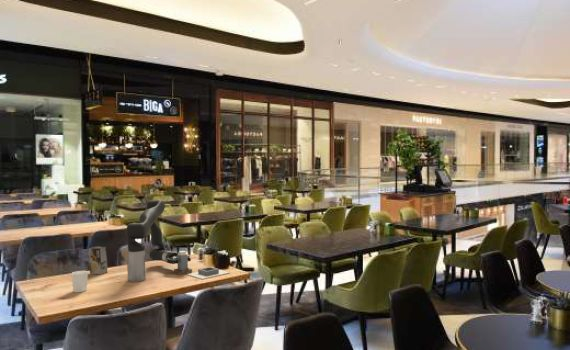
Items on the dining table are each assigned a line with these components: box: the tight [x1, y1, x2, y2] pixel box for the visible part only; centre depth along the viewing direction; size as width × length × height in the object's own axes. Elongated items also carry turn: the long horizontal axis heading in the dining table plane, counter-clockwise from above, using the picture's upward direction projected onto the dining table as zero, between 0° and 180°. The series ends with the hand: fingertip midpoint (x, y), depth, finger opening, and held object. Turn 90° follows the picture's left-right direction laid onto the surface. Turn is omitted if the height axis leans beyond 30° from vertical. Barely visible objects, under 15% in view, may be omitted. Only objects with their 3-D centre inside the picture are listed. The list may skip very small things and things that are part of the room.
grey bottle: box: [177, 250, 189, 271], centre depth 290 cm, size 4×4×13 cm
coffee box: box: [88, 246, 108, 275], centre depth 294 cm, size 9×6×16 cm
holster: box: [173, 267, 193, 275], centre depth 290 cm, size 8×8×2 cm
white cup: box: [71, 270, 88, 293], centre depth 253 cm, size 8×8×10 cm
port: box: [186, 266, 231, 280], centre depth 284 cm, size 20×16×3 cm
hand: (184, 260), depth 289 cm, fingers open, 8 cm apart
